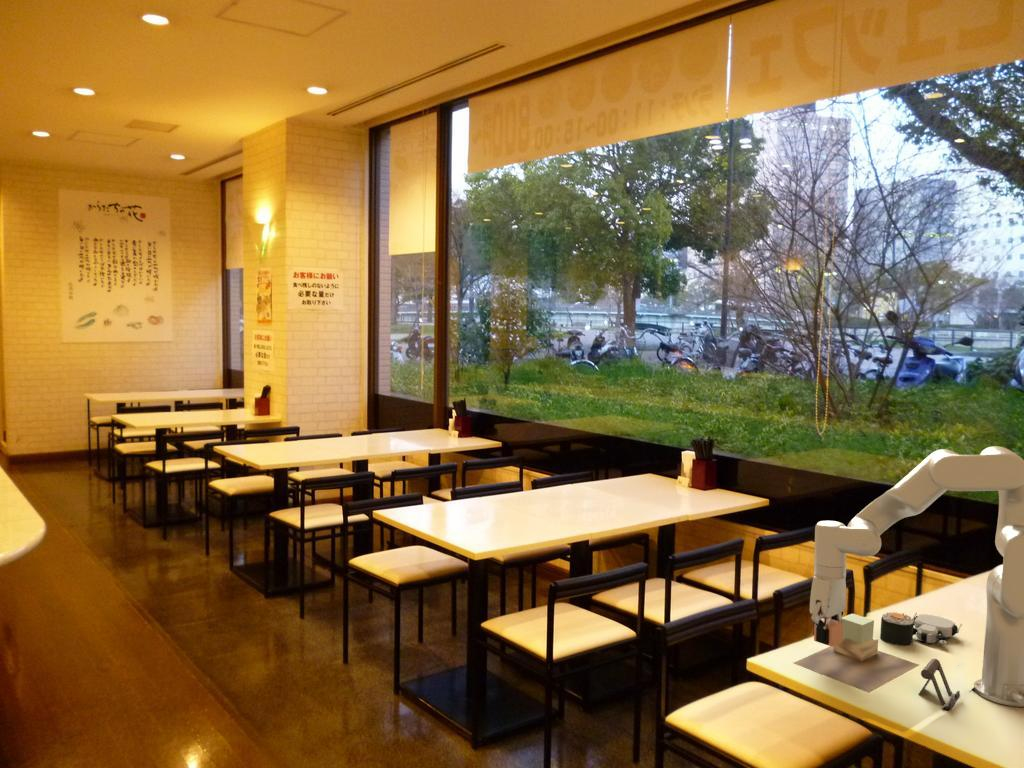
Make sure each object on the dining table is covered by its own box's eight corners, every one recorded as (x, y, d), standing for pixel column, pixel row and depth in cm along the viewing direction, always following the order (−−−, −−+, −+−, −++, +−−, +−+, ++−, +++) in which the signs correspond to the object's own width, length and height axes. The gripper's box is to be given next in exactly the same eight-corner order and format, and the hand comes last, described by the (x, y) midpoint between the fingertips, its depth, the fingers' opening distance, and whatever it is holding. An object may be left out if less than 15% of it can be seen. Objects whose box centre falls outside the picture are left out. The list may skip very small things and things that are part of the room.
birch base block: (877, 653, 214) (878, 638, 214) (862, 660, 209) (863, 645, 209) (848, 643, 220) (849, 629, 220) (833, 650, 215) (834, 635, 215)
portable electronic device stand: (950, 713, 184) (953, 677, 183) (913, 701, 189) (915, 667, 189) (959, 700, 191) (962, 665, 190) (923, 689, 196) (925, 656, 195)
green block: (872, 638, 214) (874, 620, 213) (861, 643, 210) (862, 625, 210) (851, 631, 218) (852, 613, 218) (839, 636, 215) (840, 618, 214)
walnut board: (919, 668, 208) (919, 664, 208) (868, 696, 191) (868, 692, 191) (845, 642, 223) (845, 639, 223) (792, 666, 207) (793, 662, 207)
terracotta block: (842, 641, 205) (843, 622, 205) (832, 646, 202) (832, 627, 202) (824, 635, 209) (824, 617, 209) (814, 640, 206) (814, 621, 206)
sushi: (877, 644, 223) (879, 616, 222) (883, 635, 230) (885, 607, 229) (909, 651, 218) (911, 623, 217) (915, 642, 225) (917, 614, 224)
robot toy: (947, 654, 219) (962, 635, 230) (947, 639, 219) (962, 620, 230) (899, 641, 228) (915, 624, 238) (899, 626, 227) (916, 609, 238)
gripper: (833, 560, 213) (832, 628, 214) (798, 573, 202) (796, 644, 203) (861, 567, 207) (859, 636, 208) (825, 580, 196) (824, 653, 198)
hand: (828, 639), depth 206 cm, fingers closed on terracotta block, 4 cm apart
